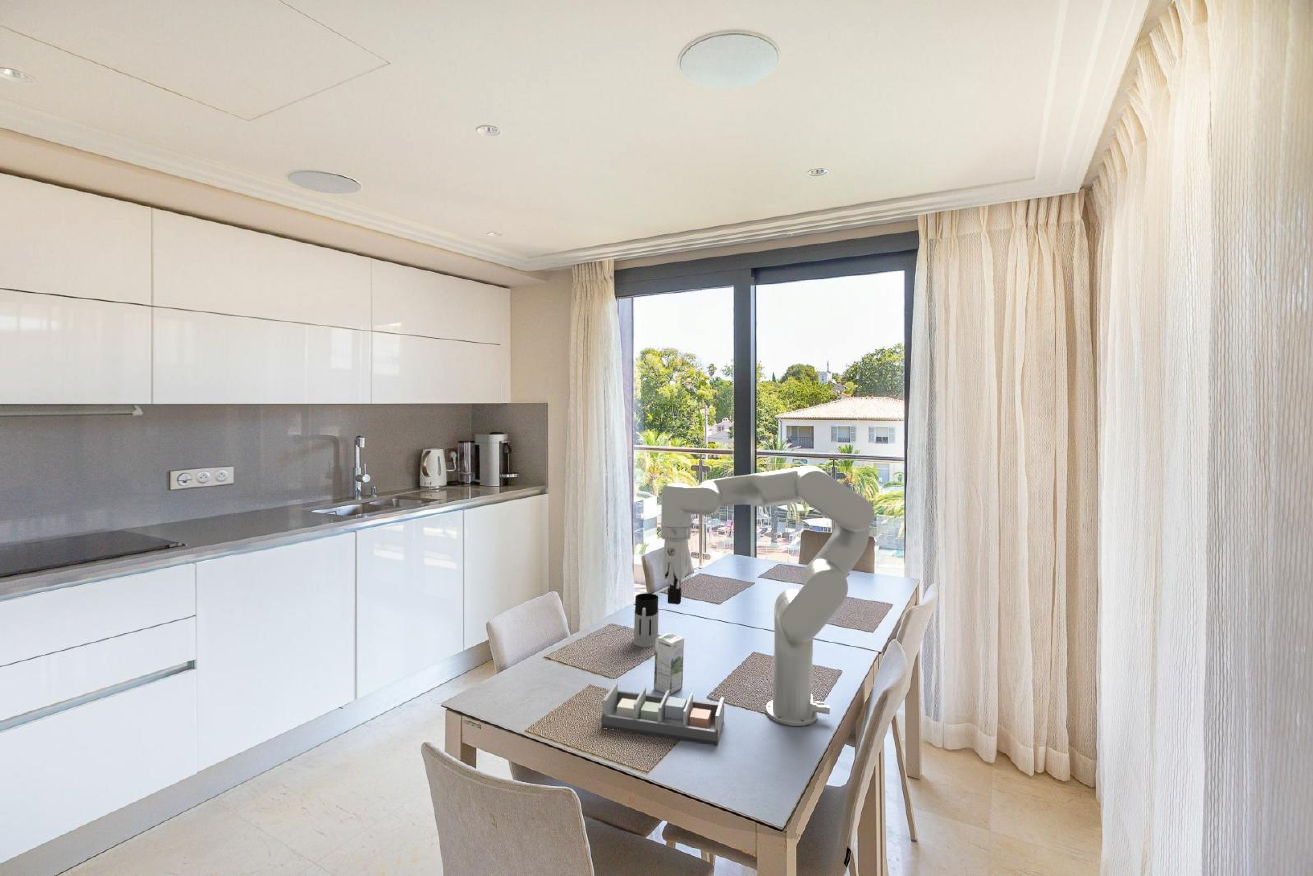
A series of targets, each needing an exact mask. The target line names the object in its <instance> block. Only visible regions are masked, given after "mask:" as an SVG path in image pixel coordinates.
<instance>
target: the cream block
mask: <svg viewBox="0 0 1313 876" xmlns="http://www.w3.org/2000/svg"><path fill="white" fill-rule="evenodd" d="M635 701H636V700H631V699H624V698H622V699H621V701H620V702H619V704H618V706H617V716H621V717H628V718H633V716H634V703H635Z"/></svg>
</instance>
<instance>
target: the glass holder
mask: <svg viewBox="0 0 1313 876" xmlns="http://www.w3.org/2000/svg"><path fill="white" fill-rule="evenodd" d="M634 606H635V608H634V620H633V621H634V622H633V625H634V627H633V629H634V630H633V632H634V633H633V640H632V643H633V645H635V646H636V647H641V648H653V647H655V642H656V638H658V637H659V616H660V615H659V596H658V594H655V593H644V592H643V593H639V594H636V595H635V601H634Z"/></svg>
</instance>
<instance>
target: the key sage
mask: <svg viewBox="0 0 1313 876" xmlns="http://www.w3.org/2000/svg"><path fill="white" fill-rule="evenodd" d="M659 705H660V703H654V702H646V701H645V703H644V705H643V707H642V708H641V719H642V720H649V721H656V722H658V707H659Z"/></svg>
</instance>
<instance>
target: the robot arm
mask: <svg viewBox="0 0 1313 876" xmlns="http://www.w3.org/2000/svg"><path fill="white" fill-rule="evenodd" d="M801 502H804V503H806V504H807V505H809V506H810V507H811V508H813V509H814V510H815V511H817V512H819V513H820V514H822V515H823V516H824V517H826V518H828V519H829V520H831V521H832V522H833V523H834V529H833V532H832V533H831V536H830V537H829V538H828V540H827V541H826V543H825V544H824V545H823V546H822V548H821V549H820V550H819V551H818V552H817V554H816V555H815V556H814V557H813V559H812V560H811V561H810V562H809V563H808V564H807V565H806V567H804V570H803V572H802V581H803V586H802V587H801V589H798V588H788V589H786V590H784V591H781V593H780V594H779V595H778V596H777V598H776V600H775V602H774V606H773V607H774V609H773V613H774V614H773V615H774V617H773V618H774V619H773V620H774V628H773V629H774V637H773V638H774V639H773V640H774V642H773V643H774V644H773V645H774V646H773V647H774V648H773V670H772V673H773V674H772V700H770V701H769V702H767V704H766V706H765V713H766V715H767V716H768V717H769V718H770V719H771V720H773V721H775V722H777V723H779V724H782V725H786V726H790V727H804V726H808V725H811V724H813V723H815V722H816V721H817V718H818V713H819V714H823V715H830V713H831V712H830V709H831V707H830V705H825V701H816V700H815V699H813V694H812V684H813V656H814V653H813V652H814V638H815V637H816V636H817V635H818V634H819V633H820V632H821V630H822V629H823V628H824V627H825V626H826V625H827V623H828V622H829V621H830V620H831V619H832V617H833V616H835V614H836V613H837V611H838V610H839V609H840V608H841V606H843V604H844V602H845V600H846V598H847V595H848V591H849V584H848V583H849V582H848V581H847V578H846V577H847V576H848V575H849V573H850V572H851V571H852V569H853V568H854V567H855V565H856V564H857V562H858V561H859V560H860V558H861V557H862V556H863V553H864V552H865V550H866V548H867V546H868V543H869V538H870V529H871V525H873V523H874V521H875V516H876V515H875V509H874V506H873V505H872V503H871V502H870V501H869V500H868V499H867V498H865V497H864V496H863V495H861V494H859V493H858V492H856V491H854V490H852V489H851V488H849V487H847V486H846V485H844V484H843V483H842V482H840V481H838V480H837V479H835V478H834V477H833V476H831V475H830V474H828V473H827V472H826V471H824V470H823V469H821V468H819V467H818V466H815V465H805V466H800V467H799V466H798V467H797V466H796V467H792V468H787V469H786V468H785V469H778V470H773V471H767V472H760V473H759V472H758V473H751V474H744V475H736V476H735V475H734V476H729V477H722V478H716V479H709V480H704V481H702V482H700V483H698V484H697V485H696V486H690V485H689V484H687V483H680V482H671V483H666V484H664V485H663V487H662V488H661V509H660V511H661V515H660V517H661V518H660V519H661V522H660V538H661V539H662V540H664V543H663V545H664V546H663V561H662V562H663V564H662V570H663V571H662V573H663V574H662V575H663V578H664V579H666V580H667V604H670V605H680V604H681V602H682V581H683V579H684V578H685V576H686V575H687V574H688V573H689V569H690V568H689V567H690V565H689V541H688V540H691V534H692V533H691V529H692V527H691V526H692V523H691V522H692V520H691V519H692V515H693V514H694V515H697V516H698V515H699V516H704V517H705V516H707V517H708V516H712V515H714V514H716V513H717V512H718V511H719V510H720V509H721V508H723V507H729V506H734V505H735V506H736V505H737V506H738V505H739V506H740V505H750V506H754V507H757V508H759V507H760V508H761V507H762V508H767V507H769V508H770V507H775V506H782V505H785V504H786V505H787V504H793V503H801Z"/></svg>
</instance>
